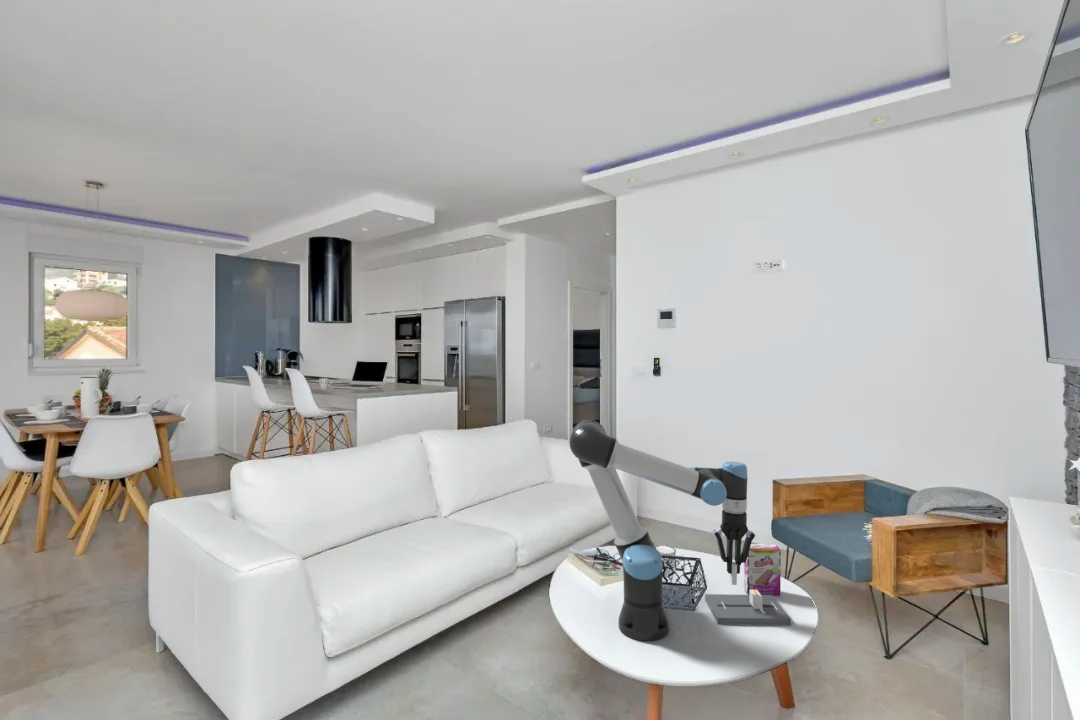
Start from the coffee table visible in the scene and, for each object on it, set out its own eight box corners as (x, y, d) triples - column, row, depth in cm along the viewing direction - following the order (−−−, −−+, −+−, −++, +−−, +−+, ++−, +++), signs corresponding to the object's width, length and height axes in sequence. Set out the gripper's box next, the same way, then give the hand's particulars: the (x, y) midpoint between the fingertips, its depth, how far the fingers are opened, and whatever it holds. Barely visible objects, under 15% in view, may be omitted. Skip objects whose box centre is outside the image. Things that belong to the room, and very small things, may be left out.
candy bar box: (747, 595, 182) (747, 548, 182) (743, 589, 187) (743, 543, 187) (781, 596, 181) (781, 548, 181) (776, 590, 186) (776, 543, 186)
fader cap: (754, 609, 168) (754, 596, 168) (749, 601, 173) (749, 589, 173) (762, 609, 168) (762, 596, 168) (757, 601, 173) (756, 589, 173)
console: (717, 624, 163) (717, 617, 163) (705, 600, 179) (704, 593, 179) (791, 625, 162) (791, 618, 162) (771, 600, 178) (771, 594, 178)
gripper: (716, 513, 168) (715, 587, 168) (758, 514, 167) (757, 589, 167) (710, 506, 176) (709, 577, 176) (751, 507, 175) (750, 579, 175)
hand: (733, 583), depth 172 cm, fingers closed
